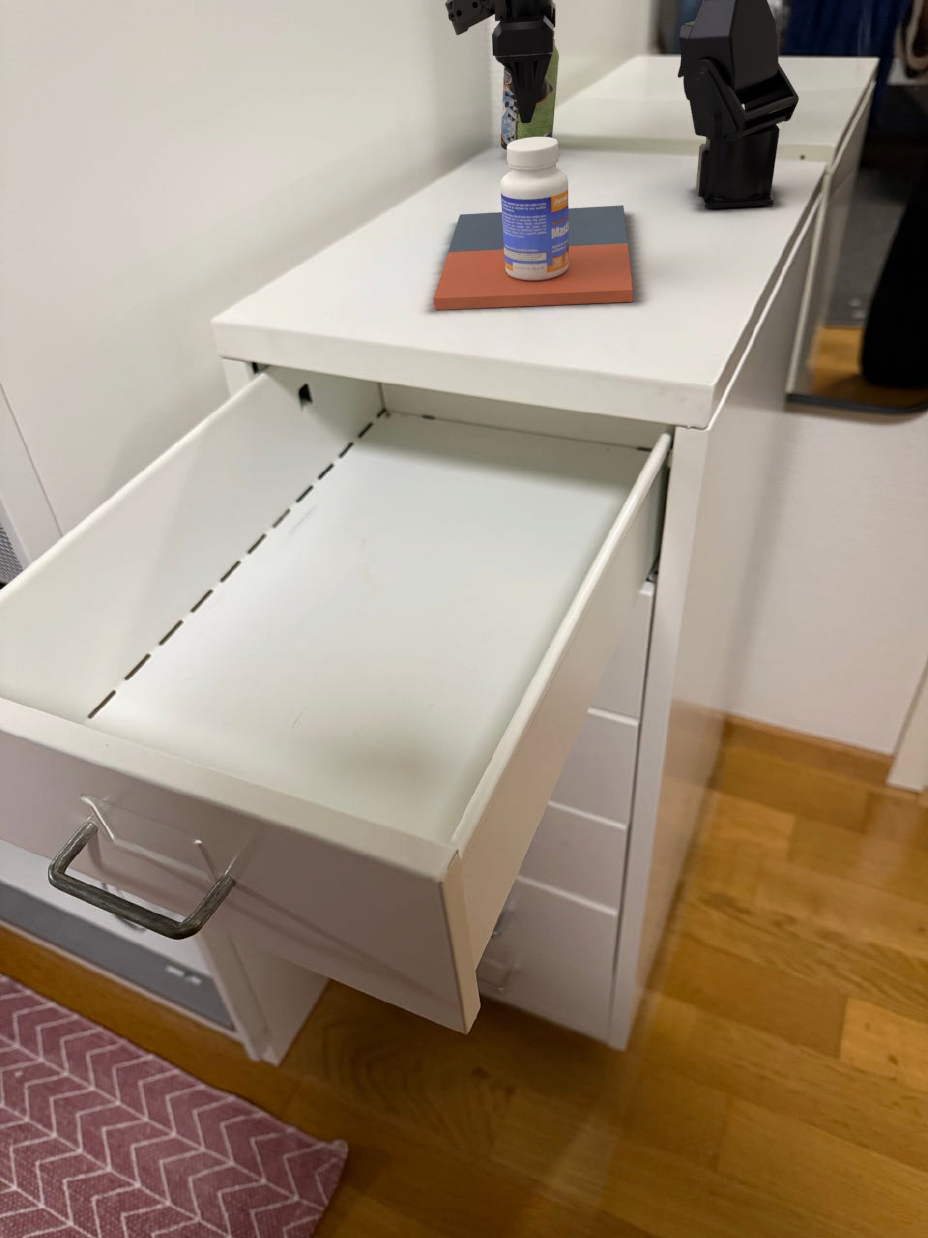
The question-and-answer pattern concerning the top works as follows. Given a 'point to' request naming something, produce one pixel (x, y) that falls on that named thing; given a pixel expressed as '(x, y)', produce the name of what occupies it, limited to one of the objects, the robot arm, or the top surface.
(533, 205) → the pill bottle
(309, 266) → the top surface
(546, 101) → the beverage can
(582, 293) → the board
